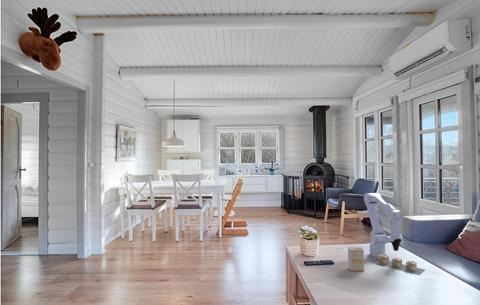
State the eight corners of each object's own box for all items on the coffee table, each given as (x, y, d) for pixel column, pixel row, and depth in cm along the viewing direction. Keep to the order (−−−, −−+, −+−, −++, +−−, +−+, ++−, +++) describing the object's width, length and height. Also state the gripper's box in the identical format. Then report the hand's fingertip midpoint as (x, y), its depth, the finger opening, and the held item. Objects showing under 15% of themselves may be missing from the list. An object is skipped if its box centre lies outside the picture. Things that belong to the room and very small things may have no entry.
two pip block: (378, 262, 186) (378, 255, 186) (381, 260, 189) (381, 253, 189) (386, 264, 182) (385, 257, 182) (388, 262, 185) (388, 255, 185)
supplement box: (361, 268, 178) (361, 247, 178) (364, 271, 173) (363, 249, 173) (348, 268, 178) (347, 247, 179) (350, 271, 174) (349, 249, 174)
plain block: (391, 265, 180) (391, 258, 180) (394, 264, 183) (394, 257, 183) (399, 267, 176) (399, 260, 177) (402, 266, 179) (402, 258, 180)
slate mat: (370, 263, 186) (370, 262, 186) (378, 259, 194) (378, 258, 194) (419, 276, 165) (419, 275, 165) (425, 270, 173) (425, 269, 173)
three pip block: (405, 269, 174) (405, 261, 174) (408, 267, 177) (408, 259, 177) (414, 271, 170) (414, 263, 171) (416, 269, 174) (416, 261, 174)
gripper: (398, 232, 175) (398, 254, 175) (406, 228, 185) (406, 249, 185) (385, 230, 180) (386, 251, 180) (394, 226, 190) (395, 247, 190)
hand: (395, 250), depth 183 cm, fingers closed
